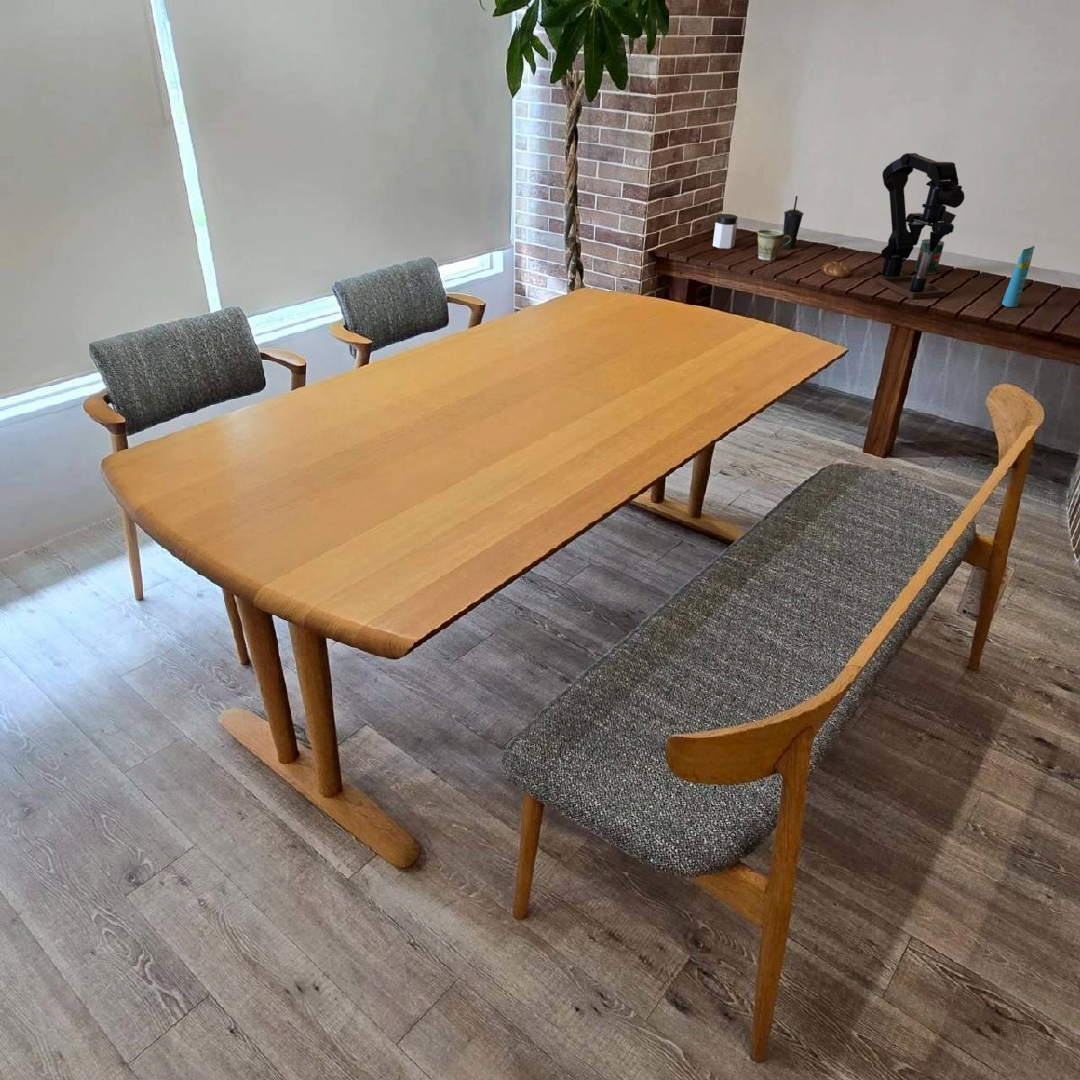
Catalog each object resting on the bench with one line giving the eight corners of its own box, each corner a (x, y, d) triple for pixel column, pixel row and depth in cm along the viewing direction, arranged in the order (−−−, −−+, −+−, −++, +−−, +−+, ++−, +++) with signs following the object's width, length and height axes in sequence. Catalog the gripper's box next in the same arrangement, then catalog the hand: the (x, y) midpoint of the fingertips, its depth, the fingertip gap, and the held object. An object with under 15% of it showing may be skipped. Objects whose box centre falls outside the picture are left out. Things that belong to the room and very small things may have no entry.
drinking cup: (799, 249, 343) (808, 198, 332) (780, 249, 343) (789, 198, 332) (794, 245, 349) (803, 194, 338) (776, 244, 349) (785, 194, 338)
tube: (1012, 309, 280) (1032, 250, 270) (998, 305, 283) (1016, 247, 273) (1021, 304, 285) (1040, 246, 274) (1006, 301, 288) (1025, 244, 277)
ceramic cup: (753, 260, 328) (756, 234, 322) (755, 254, 336) (758, 228, 330) (786, 263, 325) (791, 236, 319) (788, 257, 333) (792, 231, 327)
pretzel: (855, 278, 308) (858, 268, 306) (826, 278, 308) (828, 268, 306) (845, 269, 318) (847, 259, 316) (817, 269, 318) (819, 259, 316)
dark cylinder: (907, 289, 296) (917, 252, 289) (918, 288, 297) (927, 251, 290) (915, 293, 293) (925, 255, 286) (925, 292, 294) (936, 254, 287)
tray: (878, 283, 304) (879, 277, 303) (910, 281, 307) (912, 275, 306) (911, 299, 288) (913, 293, 287) (945, 296, 291) (947, 291, 290)
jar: (732, 244, 349) (736, 214, 343) (735, 249, 342) (740, 218, 336) (711, 243, 349) (715, 213, 343) (713, 248, 343) (717, 217, 336)
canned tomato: (938, 274, 314) (946, 244, 308) (916, 273, 316) (923, 243, 310) (934, 269, 321) (942, 239, 315) (912, 267, 322) (920, 238, 316)
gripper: (973, 206, 281) (959, 253, 290) (937, 195, 296) (926, 240, 305) (945, 207, 279) (932, 255, 287) (910, 196, 294) (899, 242, 302)
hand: (923, 248), depth 295 cm, fingers open, 9 cm apart
